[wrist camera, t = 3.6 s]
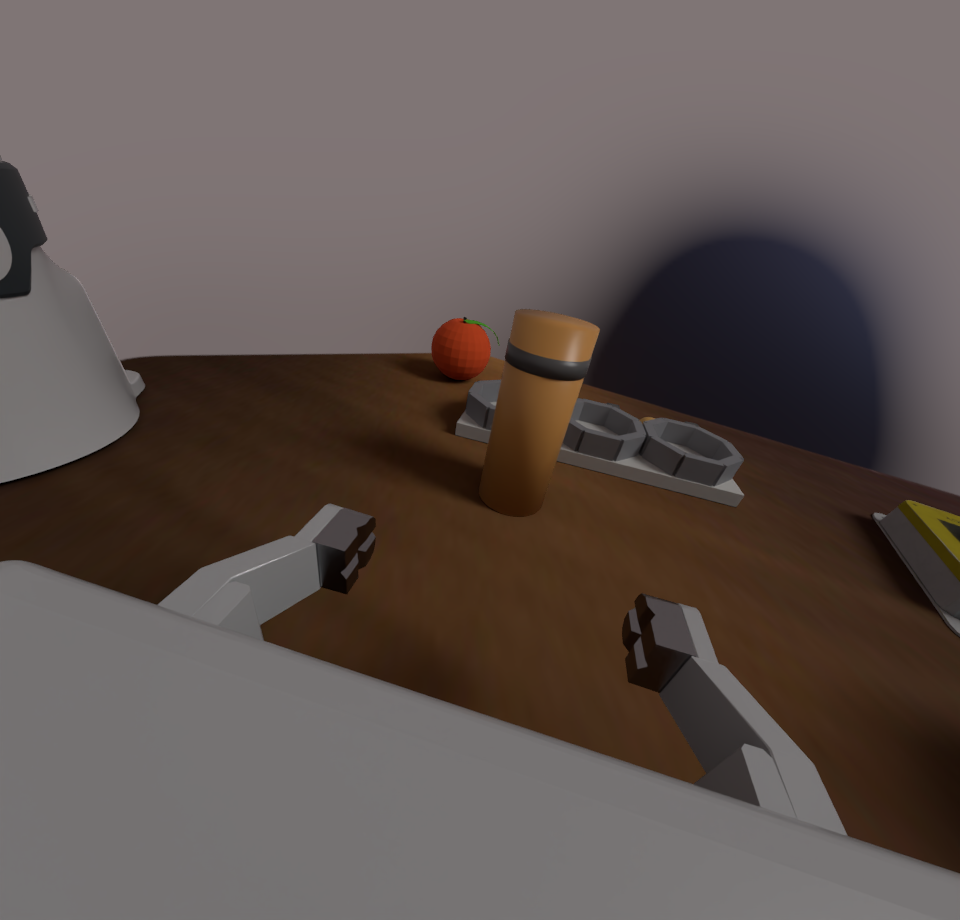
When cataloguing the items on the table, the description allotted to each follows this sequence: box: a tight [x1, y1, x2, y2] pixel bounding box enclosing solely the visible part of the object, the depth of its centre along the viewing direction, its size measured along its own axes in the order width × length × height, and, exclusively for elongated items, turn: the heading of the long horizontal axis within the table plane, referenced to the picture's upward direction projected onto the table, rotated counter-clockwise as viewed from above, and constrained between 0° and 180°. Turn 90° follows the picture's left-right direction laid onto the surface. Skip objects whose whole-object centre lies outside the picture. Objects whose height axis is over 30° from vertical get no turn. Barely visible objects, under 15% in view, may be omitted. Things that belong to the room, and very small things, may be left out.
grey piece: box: [455, 380, 744, 507], centre depth 34 cm, size 24×11×3 cm, turn 77°
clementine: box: [432, 317, 499, 380], centre depth 42 cm, size 8×7×7 cm
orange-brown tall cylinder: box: [479, 309, 600, 517], centre depth 23 cm, size 5×5×12 cm
